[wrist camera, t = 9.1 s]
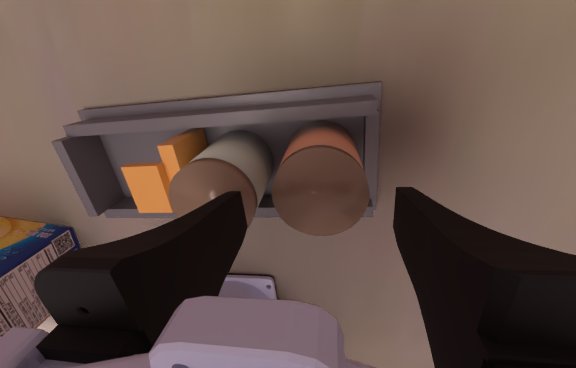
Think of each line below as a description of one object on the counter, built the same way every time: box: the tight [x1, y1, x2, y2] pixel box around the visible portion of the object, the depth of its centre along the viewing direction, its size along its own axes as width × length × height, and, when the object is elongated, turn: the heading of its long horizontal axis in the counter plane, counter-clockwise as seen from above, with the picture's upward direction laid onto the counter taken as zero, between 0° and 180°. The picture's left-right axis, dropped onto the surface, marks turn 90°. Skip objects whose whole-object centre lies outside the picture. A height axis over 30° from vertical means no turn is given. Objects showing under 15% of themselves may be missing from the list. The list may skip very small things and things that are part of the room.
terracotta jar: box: [272, 121, 370, 236], centre depth 16 cm, size 5×5×6 cm
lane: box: [52, 81, 382, 218], centre depth 19 cm, size 9×22×4 cm, turn 96°
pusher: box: [121, 128, 208, 213], centre depth 18 cm, size 5×3×5 cm, turn 6°
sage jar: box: [169, 130, 274, 228], centre depth 17 cm, size 5×5×6 cm
